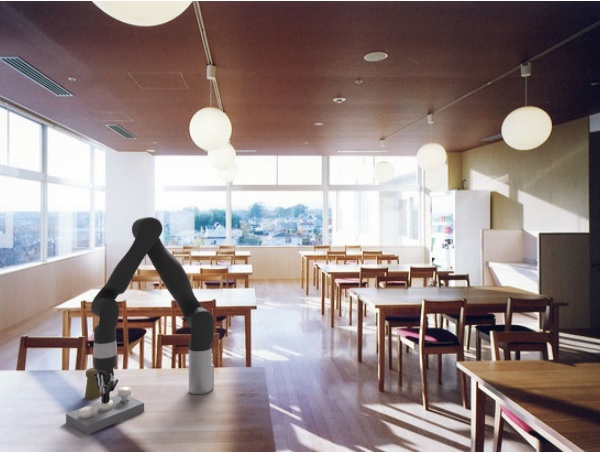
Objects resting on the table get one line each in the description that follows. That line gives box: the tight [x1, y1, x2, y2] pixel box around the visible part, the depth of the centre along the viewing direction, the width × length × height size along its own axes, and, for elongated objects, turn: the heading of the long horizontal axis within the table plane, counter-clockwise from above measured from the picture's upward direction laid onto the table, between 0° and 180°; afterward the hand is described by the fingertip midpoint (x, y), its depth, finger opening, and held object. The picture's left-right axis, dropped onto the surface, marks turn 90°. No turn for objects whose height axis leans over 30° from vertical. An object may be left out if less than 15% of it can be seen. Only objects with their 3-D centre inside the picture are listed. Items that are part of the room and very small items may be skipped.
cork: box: [84, 367, 101, 401], centre depth 169 cm, size 6×6×11 cm
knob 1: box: [79, 406, 94, 419], centre depth 146 cm, size 4×4×5 cm
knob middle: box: [99, 400, 113, 411], centre depth 152 cm, size 4×4×5 cm
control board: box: [65, 394, 145, 436], centre depth 152 cm, size 21×14×3 cm, turn 144°
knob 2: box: [117, 386, 132, 403], centre depth 158 cm, size 4×4×5 cm
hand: (105, 402), depth 152 cm, fingers closed
